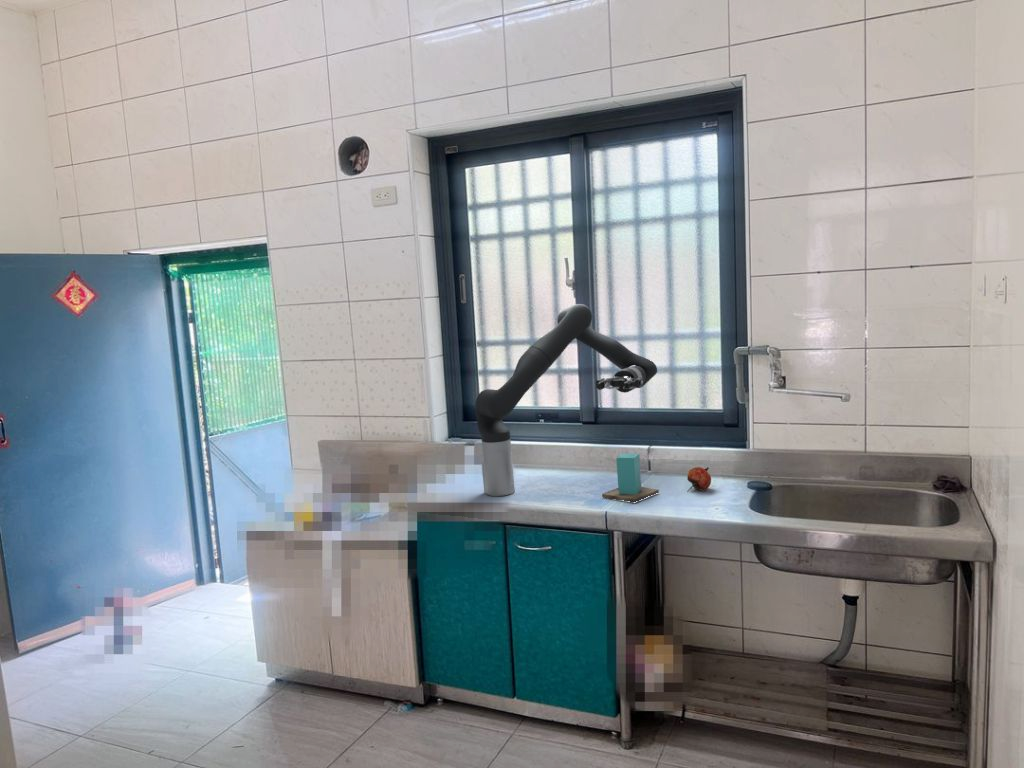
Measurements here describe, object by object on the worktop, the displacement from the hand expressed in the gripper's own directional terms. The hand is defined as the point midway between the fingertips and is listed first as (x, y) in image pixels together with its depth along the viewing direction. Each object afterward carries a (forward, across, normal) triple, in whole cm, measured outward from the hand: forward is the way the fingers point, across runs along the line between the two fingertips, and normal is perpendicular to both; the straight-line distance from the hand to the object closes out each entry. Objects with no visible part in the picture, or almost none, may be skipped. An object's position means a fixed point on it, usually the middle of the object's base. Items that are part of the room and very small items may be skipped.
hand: (612, 386), depth 225 cm
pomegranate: (0, +25, +32) cm, 41 cm away
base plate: (+9, +7, +32) cm, 34 cm away
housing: (+9, +7, +31) cm, 33 cm away
